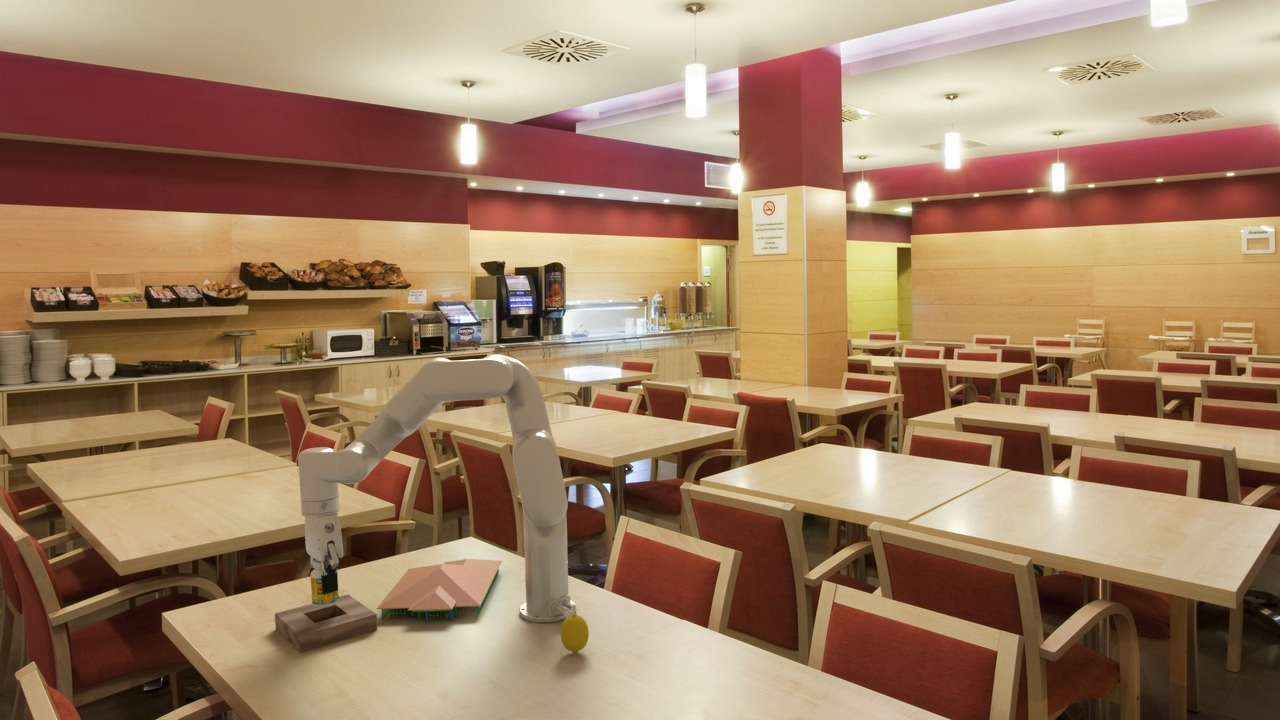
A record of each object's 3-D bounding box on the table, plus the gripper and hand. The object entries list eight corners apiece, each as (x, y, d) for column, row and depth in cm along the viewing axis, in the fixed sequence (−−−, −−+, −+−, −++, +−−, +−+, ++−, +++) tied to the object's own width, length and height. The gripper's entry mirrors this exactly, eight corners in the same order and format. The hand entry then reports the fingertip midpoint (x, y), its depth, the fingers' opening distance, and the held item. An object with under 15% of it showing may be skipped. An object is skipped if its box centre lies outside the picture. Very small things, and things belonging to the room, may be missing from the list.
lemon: (593, 649, 160) (592, 610, 159) (582, 661, 154) (581, 621, 154) (568, 645, 161) (567, 607, 161) (556, 657, 156) (555, 617, 156)
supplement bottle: (335, 596, 175) (333, 554, 175) (341, 604, 171) (339, 560, 170) (309, 602, 172) (307, 559, 172) (315, 610, 168) (312, 565, 167)
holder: (377, 629, 171) (376, 613, 171) (300, 652, 161) (299, 635, 161) (348, 609, 183) (347, 594, 183) (275, 629, 173) (274, 613, 173)
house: (373, 628, 174) (371, 591, 173) (414, 575, 206) (412, 544, 206) (478, 625, 174) (477, 588, 173) (502, 573, 207) (501, 542, 206)
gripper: (353, 509, 166) (357, 594, 168) (323, 495, 179) (328, 574, 180) (316, 516, 161) (321, 603, 163) (288, 502, 174) (293, 582, 175)
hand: (325, 587), depth 171 cm, fingers closed on supplement bottle, 5 cm apart
